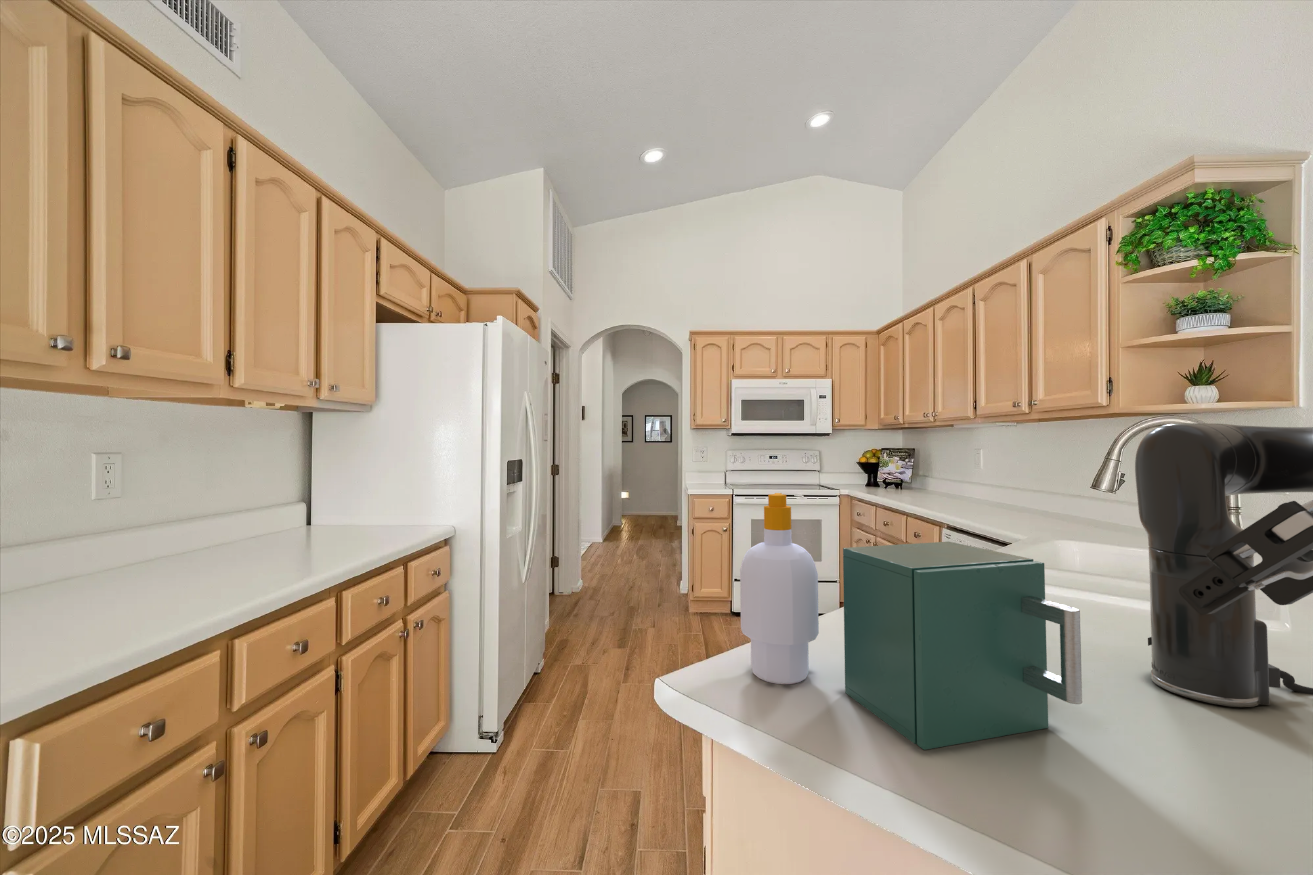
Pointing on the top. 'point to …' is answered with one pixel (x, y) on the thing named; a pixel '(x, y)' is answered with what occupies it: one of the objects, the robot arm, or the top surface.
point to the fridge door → (988, 652)
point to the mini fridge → (892, 621)
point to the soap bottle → (779, 599)
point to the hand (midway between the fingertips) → (1231, 598)
